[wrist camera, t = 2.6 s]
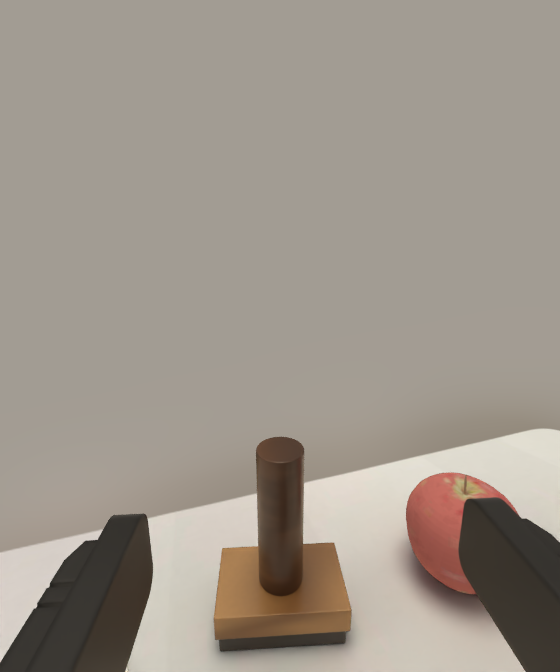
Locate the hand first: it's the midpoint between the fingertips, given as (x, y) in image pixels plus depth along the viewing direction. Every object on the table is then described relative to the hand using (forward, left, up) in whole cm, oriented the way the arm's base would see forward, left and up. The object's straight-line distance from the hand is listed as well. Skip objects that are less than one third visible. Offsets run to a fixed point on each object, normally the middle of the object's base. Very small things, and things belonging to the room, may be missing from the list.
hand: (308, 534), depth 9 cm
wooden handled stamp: (0, +11, -16) cm, 20 cm away
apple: (+13, +13, -17) cm, 25 cm away
